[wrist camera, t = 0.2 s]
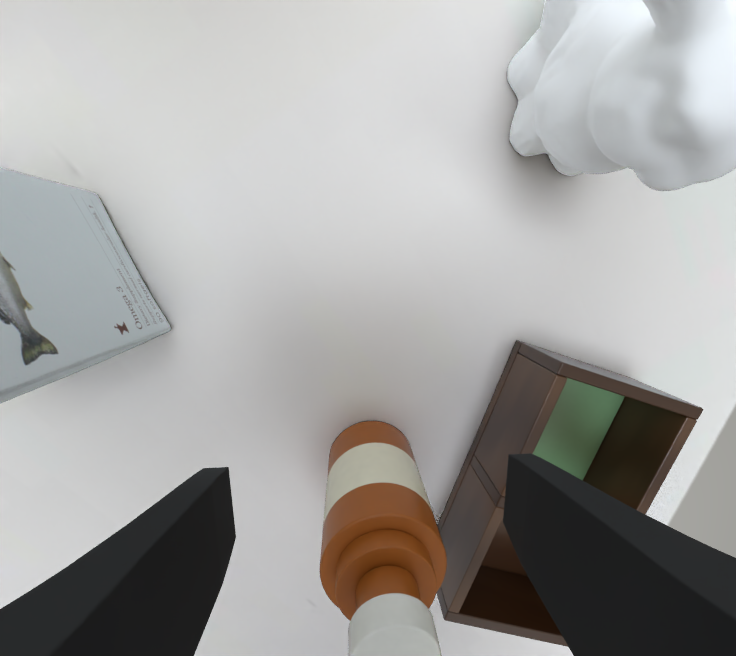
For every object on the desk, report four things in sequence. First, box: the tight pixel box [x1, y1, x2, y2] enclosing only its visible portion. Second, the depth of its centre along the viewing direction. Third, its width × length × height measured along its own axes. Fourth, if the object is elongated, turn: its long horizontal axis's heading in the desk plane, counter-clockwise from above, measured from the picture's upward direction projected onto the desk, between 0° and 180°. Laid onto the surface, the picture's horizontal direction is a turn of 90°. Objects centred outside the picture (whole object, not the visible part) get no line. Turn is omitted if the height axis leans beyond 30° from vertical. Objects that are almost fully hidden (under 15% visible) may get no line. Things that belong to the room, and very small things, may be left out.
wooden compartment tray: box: [437, 340, 703, 646], centre depth 19 cm, size 14×8×4 cm, turn 161°
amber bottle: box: [320, 421, 447, 656], centre depth 15 cm, size 5×5×10 cm
